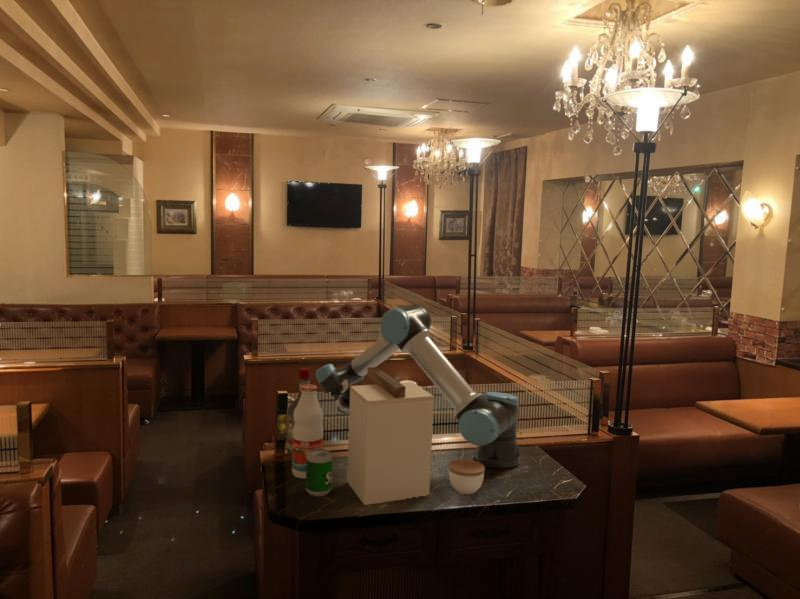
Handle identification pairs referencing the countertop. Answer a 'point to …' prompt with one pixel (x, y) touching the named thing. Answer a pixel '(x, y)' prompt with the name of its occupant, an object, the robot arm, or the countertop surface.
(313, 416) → the fruit juice
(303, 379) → the liquor
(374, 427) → the pedestal
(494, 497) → the countertop surface
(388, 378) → the dark brown wooden post
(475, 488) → the lidded jar
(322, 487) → the soda can
